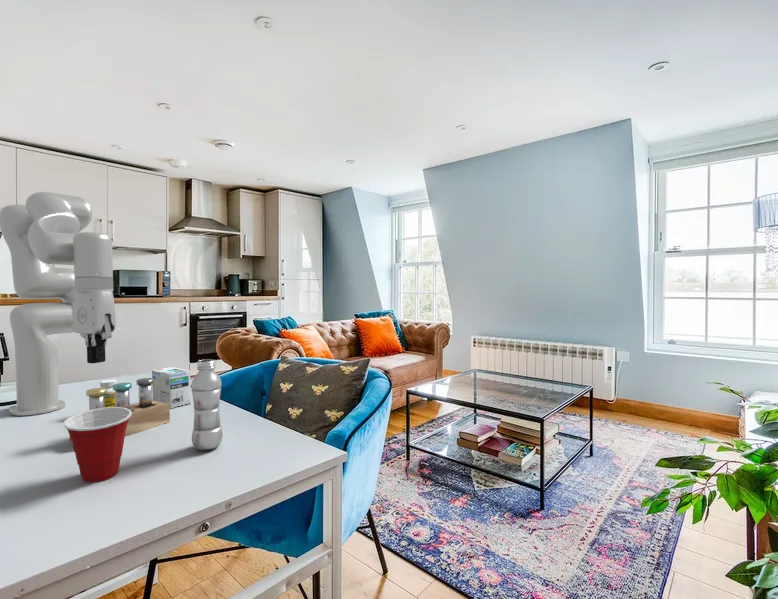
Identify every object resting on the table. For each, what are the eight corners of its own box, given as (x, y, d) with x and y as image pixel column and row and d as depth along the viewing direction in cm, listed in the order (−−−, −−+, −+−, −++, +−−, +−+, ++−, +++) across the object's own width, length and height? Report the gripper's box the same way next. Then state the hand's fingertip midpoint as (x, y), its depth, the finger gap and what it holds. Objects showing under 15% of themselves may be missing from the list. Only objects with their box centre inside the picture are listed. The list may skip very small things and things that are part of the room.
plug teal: (109, 414, 104) (109, 385, 103) (125, 410, 107) (125, 381, 107) (119, 417, 102) (118, 387, 102) (135, 412, 105) (134, 383, 105)
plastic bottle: (192, 456, 90) (190, 364, 89) (191, 445, 96) (189, 359, 95) (224, 450, 93) (223, 362, 92) (221, 440, 99) (220, 357, 98)
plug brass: (83, 422, 98) (82, 390, 98) (101, 417, 102) (100, 387, 102) (93, 424, 97) (92, 392, 96) (111, 419, 100) (110, 388, 100)
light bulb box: (191, 404, 129) (191, 369, 129) (170, 409, 123) (169, 373, 123) (172, 398, 135) (171, 366, 134) (151, 403, 129) (150, 369, 129)
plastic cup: (56, 494, 73) (54, 427, 73) (74, 469, 83) (72, 410, 83) (128, 483, 77) (126, 419, 77) (137, 460, 87) (136, 404, 87)
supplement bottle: (120, 410, 123) (119, 378, 122) (120, 414, 118) (120, 381, 118) (98, 413, 120) (97, 380, 119) (97, 418, 115) (96, 384, 115)
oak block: (69, 442, 98) (69, 421, 97) (150, 417, 115) (150, 400, 115) (89, 448, 94) (88, 426, 94) (169, 422, 112) (169, 403, 112)
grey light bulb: (133, 408, 109) (133, 380, 109) (148, 404, 113) (147, 377, 112) (143, 410, 107) (142, 381, 107) (157, 406, 111) (157, 378, 111)
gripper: (58, 285, 98) (61, 362, 98) (95, 285, 91) (98, 367, 92) (93, 285, 105) (95, 357, 105) (129, 285, 98) (131, 362, 99)
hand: (96, 362), depth 99 cm, fingers closed
